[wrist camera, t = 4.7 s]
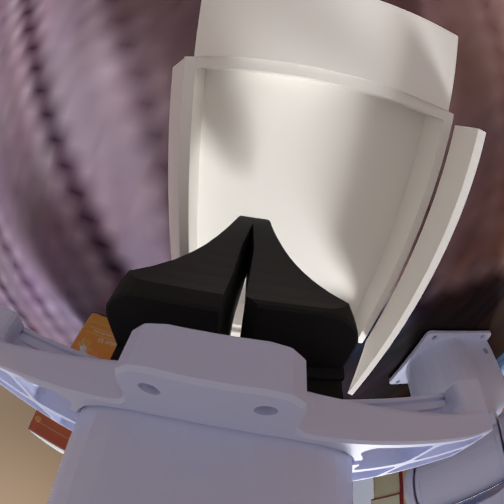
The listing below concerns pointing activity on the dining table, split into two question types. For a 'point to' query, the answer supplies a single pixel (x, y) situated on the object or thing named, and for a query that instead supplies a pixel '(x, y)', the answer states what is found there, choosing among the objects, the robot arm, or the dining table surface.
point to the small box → (90, 342)
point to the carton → (320, 135)
